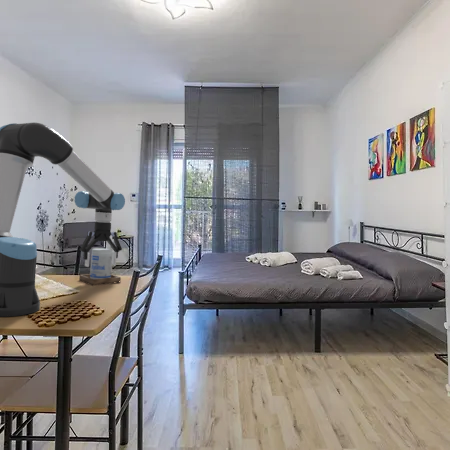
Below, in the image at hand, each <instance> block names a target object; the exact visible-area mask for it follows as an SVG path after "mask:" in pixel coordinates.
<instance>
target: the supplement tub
mask: <svg viewBox="0 0 450 450" xmlns="http://www.w3.org/2000/svg"><path fill="white" fill-rule="evenodd" d="M112 252H113V249H112V248H100V247H99V248H91V255H90V256H91V257H90V270H89V271H90V272H89V274H90V278H91V279H104V278H111V274H112V267H113V265H112Z"/></svg>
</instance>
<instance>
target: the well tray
mask: <svg viewBox="0 0 450 450" xmlns="http://www.w3.org/2000/svg"><path fill="white" fill-rule="evenodd" d="M78 277H79V279H78V280H79V281H80V282H83V283H85V284H87V285H91V286H99V285H108V284H109V283H111V284H115V283H114V282H119V281H120V282H122V281H121V279H122V278H121V276H118V275H114V274H112V273H111V278H104V279H91V278H90V273H89V274H88V273H87V274H85V273H84V274H79V276H78Z"/></svg>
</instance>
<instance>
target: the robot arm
mask: <svg viewBox="0 0 450 450" xmlns="http://www.w3.org/2000/svg"><path fill="white" fill-rule="evenodd" d="M35 157H40V158H42V159H46V160H48V162H50V163H51V164H52V165H57V166H58V167H59V168H61V169H62V170H63V172H65V173H66V174H67V175H68V176H69V177H70V178H71V179H73V180H74V181H75V182H76V183H77V184H78V185H79V186H80V187H81V188H83V190H84V191H83V190H80V191H78V192H77V193H75V195H74V204H75V206H76V207H77V208H81V209H89V210H90V209H91V210H92V209H93V210H94V212H95V214H94V221H95V222H94V229H93V230H94V231H87V233H86V237H85V239H84V241H83V242H82V244H81V246H80V248H79V251H80V252H82V253H83V260H84V267H87V268H89V267H90V256H91V255H90V254H91V253H90V250H92V249H93V247H94V246H95V245H96V243H99V242H107V244H108V245H109V246H110V247H111V249H112V266H117V259H118V258H119V252H121V251H122V250H123V248H122V246H121V243H120V241H119V239H118V234H117V233H118V232H116V231H112V232H111V230H112V223H111V222H112V215H113V213H112V211H120V210H122V209H124V207H125V204H126V198H125V196H124V194H123V193H120V192H114V191H113V190H112V189H111V188H110V187H109V186H108V185H107V184H106V182H104V181H103V180H102V178H101V177H100V176H99V175H97V174H96V172H94V170H92V168H91V167H89V165H87V164H86V163H85V162H84V161H83V159H82V158H80V156H79V155H78V154H77V153H76V152H75V151H74V147H73V145H72V144H71V143H70V142H69V141H68V140H67V139H66V138H65V137H63V135H61V134H60V133H59V132H57V131H56V130H55V129H53V128H52V127H49V126H47V125H46V124H43V123H39V122H25V123H9V124H8V123H7V124H5V125H2V126H0V317H1V318H2V317H19V316H25V315H26V316H27V315H30V314H33V313H36V312H38V311H39V310H40V307H41V301H40V298H39V294H38V292H37V287H36V274H37V273H36V272H37V257H38V250H37V248H38V247H37V243H36V242H35V241H33V240H31V239H28V238H23V237H15V236H13V235H12V234H11V229H12V225H13V220H14V217H15V213H16V210H17V206H18V202H19V198H20V194H21V192H22V187H23V184H24V179H25V175H26V173H27V169H28V168H30V167H32V166H34V161H35ZM93 236H94V237H93ZM92 237H93V238H92ZM111 237H112V239H111ZM91 239H92V240H91ZM112 240H113V241H112Z"/></svg>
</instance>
